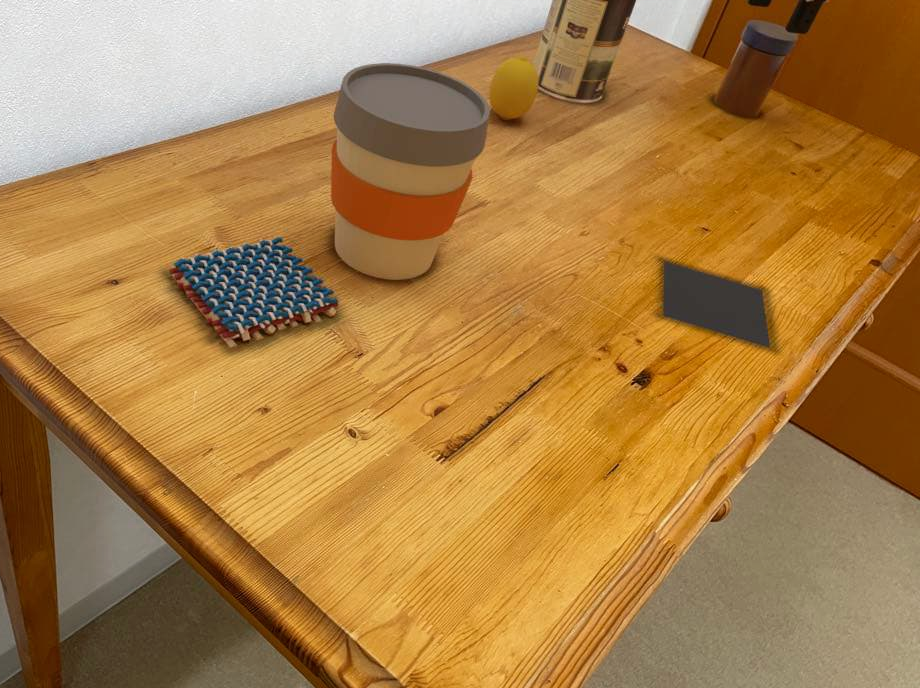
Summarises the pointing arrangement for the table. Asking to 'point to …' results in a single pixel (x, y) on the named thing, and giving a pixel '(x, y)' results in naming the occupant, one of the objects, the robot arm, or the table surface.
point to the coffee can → (580, 47)
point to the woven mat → (253, 289)
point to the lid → (769, 37)
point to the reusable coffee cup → (401, 164)
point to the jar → (748, 80)
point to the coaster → (714, 304)
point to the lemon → (514, 88)
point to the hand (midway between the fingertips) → (776, 18)
